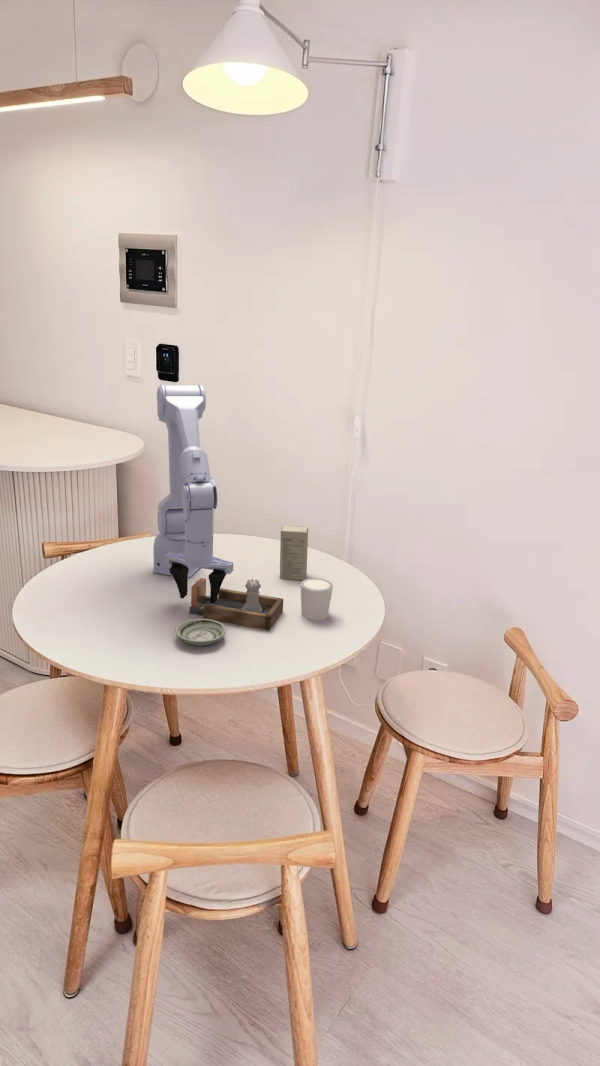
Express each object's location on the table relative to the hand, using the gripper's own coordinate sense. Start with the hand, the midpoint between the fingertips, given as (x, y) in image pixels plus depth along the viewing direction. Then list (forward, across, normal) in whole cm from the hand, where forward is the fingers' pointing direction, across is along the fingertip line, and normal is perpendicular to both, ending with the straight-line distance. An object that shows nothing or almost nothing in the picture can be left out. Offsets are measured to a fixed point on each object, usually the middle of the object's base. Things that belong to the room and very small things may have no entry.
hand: (198, 599), depth 148 cm
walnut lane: (+2, +10, 0) cm, 10 cm away
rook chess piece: (+2, +12, 0) cm, 12 cm away
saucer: (+2, +6, -13) cm, 15 cm away
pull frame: (+2, +7, 0) cm, 8 cm away
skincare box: (+2, +14, +24) cm, 28 cm away
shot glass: (+2, +24, +6) cm, 25 cm away
